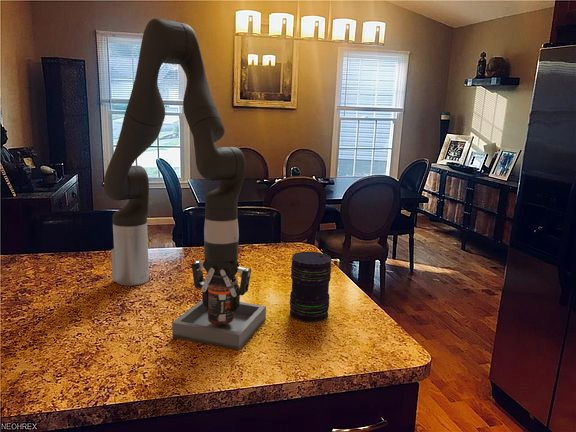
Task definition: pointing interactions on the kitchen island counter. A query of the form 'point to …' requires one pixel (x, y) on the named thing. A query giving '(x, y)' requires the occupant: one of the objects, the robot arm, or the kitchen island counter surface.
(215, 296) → the supplement bottle
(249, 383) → the kitchen island counter surface
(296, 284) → the dark cylinder
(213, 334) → the tray
